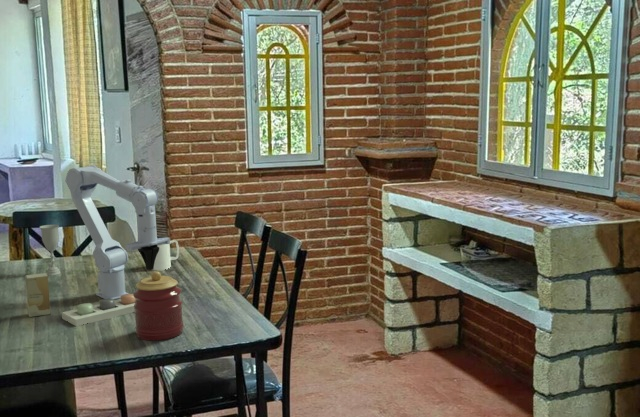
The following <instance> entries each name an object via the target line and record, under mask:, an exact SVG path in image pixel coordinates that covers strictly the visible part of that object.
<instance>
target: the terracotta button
mask: <svg viewBox="0 0 640 417" xmlns="http://www.w3.org/2000/svg"><path fill="white" fill-rule="evenodd" d="M120 299H121V304H123V305H129V304H133V303H135V297H134V296H133V293H129V294H124V295H121V298H120Z"/></svg>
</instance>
